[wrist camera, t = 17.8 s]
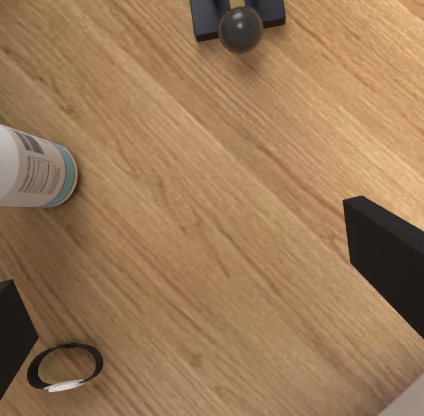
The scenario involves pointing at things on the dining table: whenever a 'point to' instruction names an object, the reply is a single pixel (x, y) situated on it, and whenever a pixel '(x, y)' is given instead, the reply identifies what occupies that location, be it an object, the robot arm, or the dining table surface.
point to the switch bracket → (220, 3)
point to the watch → (37, 383)
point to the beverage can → (34, 170)
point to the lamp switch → (240, 28)
